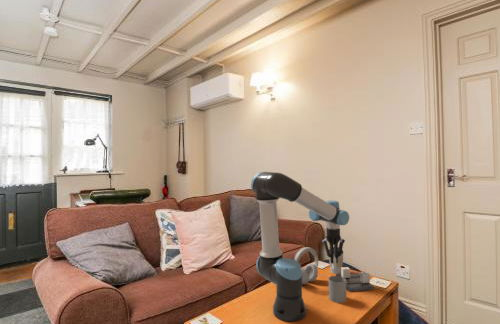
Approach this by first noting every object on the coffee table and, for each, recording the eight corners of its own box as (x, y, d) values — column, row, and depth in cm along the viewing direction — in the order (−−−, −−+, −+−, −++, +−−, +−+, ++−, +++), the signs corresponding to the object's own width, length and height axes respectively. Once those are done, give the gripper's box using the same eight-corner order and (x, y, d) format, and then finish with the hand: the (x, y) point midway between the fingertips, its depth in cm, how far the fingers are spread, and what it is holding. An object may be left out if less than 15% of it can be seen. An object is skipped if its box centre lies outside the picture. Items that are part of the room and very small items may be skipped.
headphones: (299, 289, 157) (299, 252, 157) (289, 284, 164) (288, 249, 164) (322, 280, 169) (322, 246, 168) (312, 276, 175) (311, 243, 175)
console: (348, 291, 154) (348, 285, 154) (335, 277, 172) (335, 272, 172) (373, 289, 155) (373, 284, 155) (358, 276, 173) (358, 271, 173)
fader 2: (362, 283, 158) (362, 273, 158) (360, 280, 161) (359, 271, 161) (369, 282, 159) (369, 273, 159) (366, 280, 162) (366, 271, 162)
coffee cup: (345, 270, 183) (345, 247, 183) (341, 275, 175) (341, 250, 175) (331, 268, 188) (330, 245, 187) (326, 272, 180) (326, 248, 180)
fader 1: (343, 278, 166) (343, 269, 166) (341, 276, 169) (341, 267, 169) (350, 277, 166) (350, 268, 166) (347, 275, 169) (347, 266, 169)
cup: (347, 303, 141) (346, 283, 141) (329, 302, 143) (329, 282, 143) (345, 295, 150) (344, 276, 150) (328, 294, 151) (328, 275, 151)
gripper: (324, 230, 162) (325, 271, 163) (346, 228, 163) (347, 270, 164) (319, 226, 170) (321, 266, 170) (341, 225, 171) (342, 265, 171)
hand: (334, 268), depth 167 cm, fingers closed
